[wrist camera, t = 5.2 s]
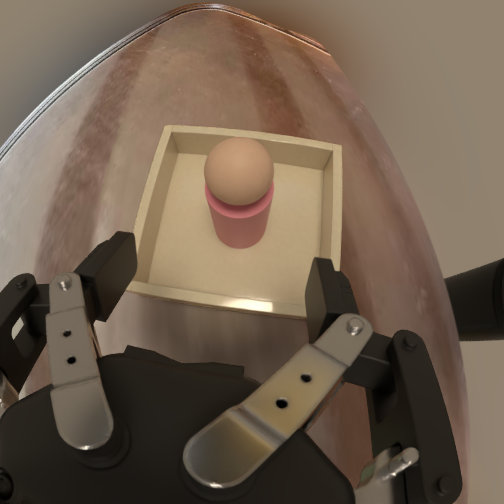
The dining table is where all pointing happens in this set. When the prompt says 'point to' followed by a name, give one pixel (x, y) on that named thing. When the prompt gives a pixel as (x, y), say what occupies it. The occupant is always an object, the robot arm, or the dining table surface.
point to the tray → (219, 254)
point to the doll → (239, 190)
